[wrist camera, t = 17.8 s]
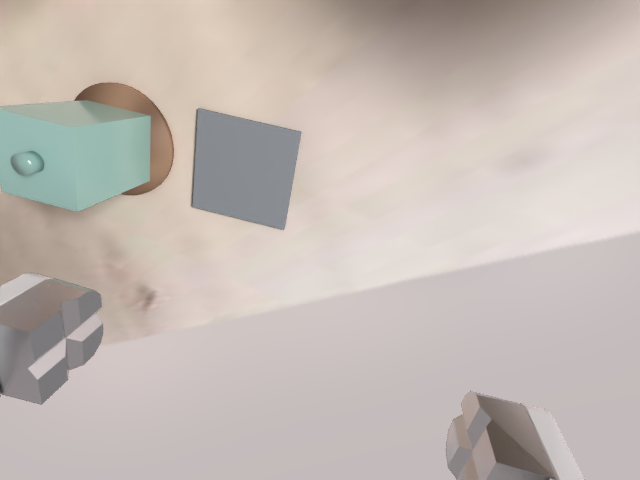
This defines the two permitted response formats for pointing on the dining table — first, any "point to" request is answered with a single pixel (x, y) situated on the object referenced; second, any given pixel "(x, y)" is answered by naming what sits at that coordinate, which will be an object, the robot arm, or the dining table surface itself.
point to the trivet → (159, 130)
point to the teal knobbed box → (72, 152)
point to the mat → (244, 168)
